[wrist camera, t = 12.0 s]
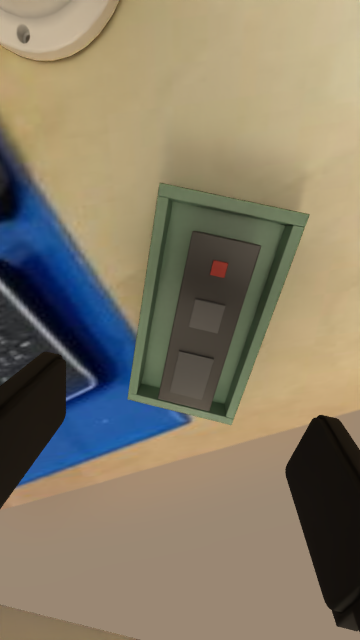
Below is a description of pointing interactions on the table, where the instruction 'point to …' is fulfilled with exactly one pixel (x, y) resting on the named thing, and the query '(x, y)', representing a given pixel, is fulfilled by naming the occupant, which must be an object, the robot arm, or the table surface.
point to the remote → (206, 317)
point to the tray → (166, 277)
